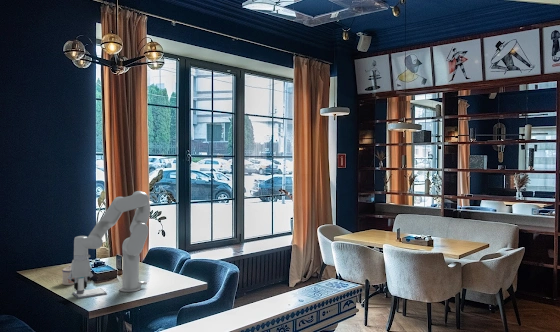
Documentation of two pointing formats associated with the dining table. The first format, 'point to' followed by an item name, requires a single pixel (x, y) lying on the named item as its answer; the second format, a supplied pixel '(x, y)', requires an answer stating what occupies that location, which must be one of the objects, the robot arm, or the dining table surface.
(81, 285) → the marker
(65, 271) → the teacup with lid
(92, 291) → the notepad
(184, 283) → the dining table surface
